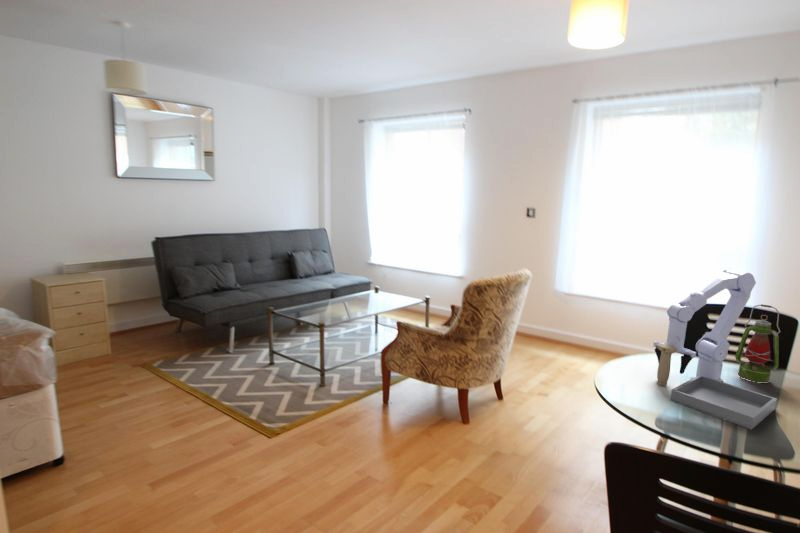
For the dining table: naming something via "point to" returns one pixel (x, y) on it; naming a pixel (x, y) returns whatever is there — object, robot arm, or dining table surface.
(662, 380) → the handle
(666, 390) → the dining table surface
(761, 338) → the lantern
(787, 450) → the dining table surface
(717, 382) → the bin
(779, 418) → the dining table surface
